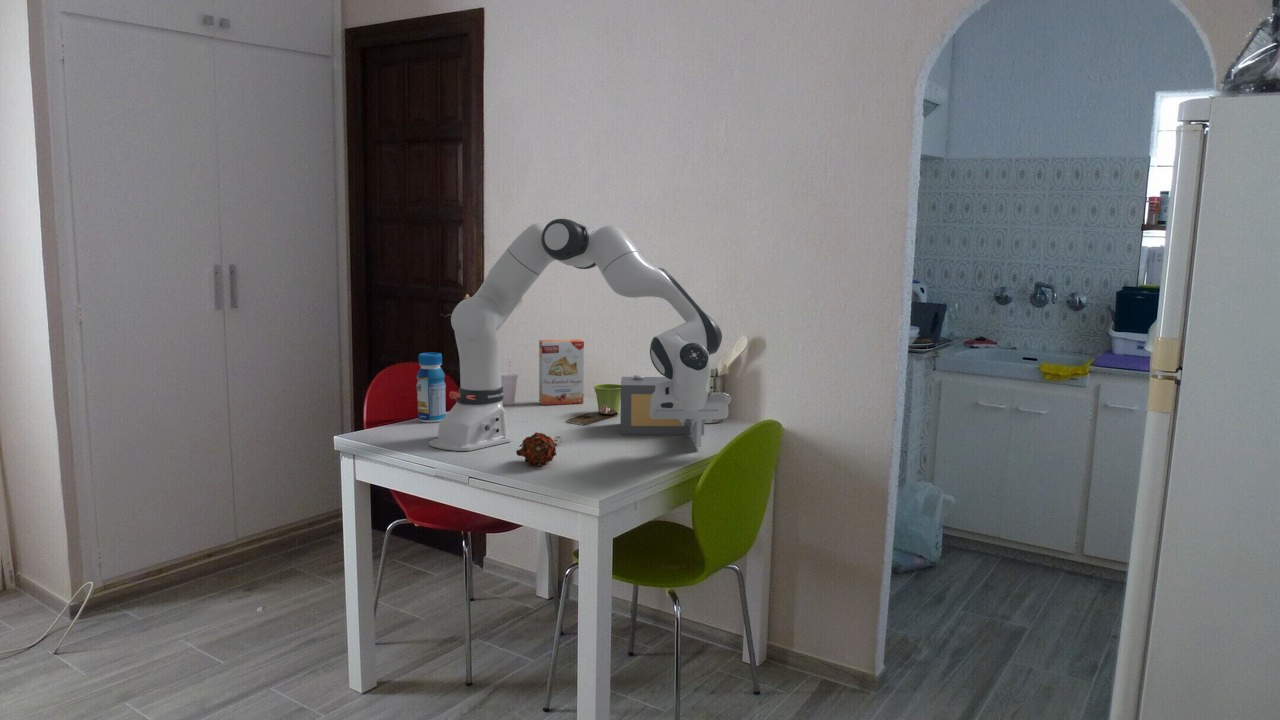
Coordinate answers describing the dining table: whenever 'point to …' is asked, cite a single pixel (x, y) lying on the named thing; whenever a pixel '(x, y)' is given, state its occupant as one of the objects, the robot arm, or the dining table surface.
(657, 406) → the robot arm
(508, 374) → the smoothie
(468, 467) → the dining table surface
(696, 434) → the side door
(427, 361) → the beverage bottle
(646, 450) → the dining table surface
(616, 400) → the plant pot
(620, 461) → the dining table surface
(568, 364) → the cracker box
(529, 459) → the dragon fruit
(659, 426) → the gray cabinet
